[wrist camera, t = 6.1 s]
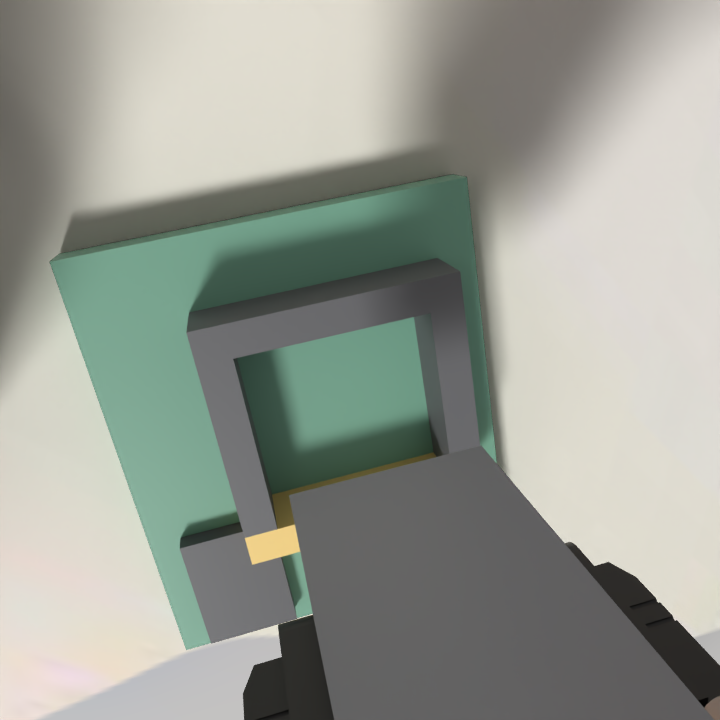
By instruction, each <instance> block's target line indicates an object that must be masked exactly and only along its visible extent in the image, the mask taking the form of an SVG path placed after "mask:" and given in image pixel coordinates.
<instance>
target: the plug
mask: <svg viewBox="0 0 720 720" xmlns="http://www.w3.org/2000/svg"><path fill="white" fill-rule="evenodd" d="M289 498H290V503H291V508H292V513H293V518H294V523H295V528H296V533H297V538H298V543H299V548H300V553H301V558H302V562H303V567H304V572H305V577H306V582H307V587H308V592H309V597H310V602H311V607H312V612H313V617H314V622H315V627H316V632H317V637H318V642H319V647H320V652H321V657H322V662H323V667H324V672H325V677H326V681H327V686H328V691H329V696H330V701H331V706H332V711H333V716H334V720H714V719H713V718H712V716H711V715H710V714H709V713H708V712H707V711H706V709H705V708H704V707H703V706H702V705H701V703H700V702H699V701H698V700H697V699H696V698H695V696H694V695H693V694H692V693H691V692H690V691H689V689H688V688H687V687H686V686H685V685H684V683H683V682H682V681H681V680H680V679H679V678H678V676H677V675H676V674H675V673H674V672H673V671H672V669H671V668H670V667H669V666H668V665H667V663H666V662H665V661H664V660H663V659H662V658H661V656H660V655H659V654H658V653H657V652H656V651H655V649H654V648H653V647H652V646H651V645H650V643H649V642H648V641H647V640H646V639H645V638H644V636H643V635H642V634H641V633H640V632H639V631H638V629H637V628H636V627H635V626H634V625H633V623H632V622H631V621H630V620H629V619H628V618H627V616H626V615H625V614H624V613H623V612H622V610H621V609H620V608H619V607H618V606H617V605H616V603H615V602H614V601H613V600H612V599H611V598H610V596H609V595H608V594H607V593H606V592H605V590H604V589H603V588H602V587H601V586H600V585H599V583H598V582H597V581H596V580H595V579H594V578H593V576H592V575H591V574H590V573H589V572H588V570H587V569H586V568H585V567H584V566H583V565H582V563H581V562H580V561H579V560H578V559H577V558H576V556H575V555H574V554H573V553H572V552H571V550H570V549H569V548H568V547H567V546H566V545H565V543H564V542H563V541H562V540H561V539H560V538H559V536H558V535H557V534H556V533H555V532H554V530H553V529H552V528H551V527H550V526H549V525H548V523H547V522H546V521H545V520H544V519H543V518H542V516H541V515H540V514H539V513H538V512H537V510H536V509H535V508H534V507H533V506H532V505H531V503H530V502H529V501H528V500H527V499H526V498H525V496H524V495H523V494H522V493H521V492H520V490H519V489H518V488H517V487H516V486H515V485H514V483H513V482H512V481H511V480H510V479H509V478H508V476H507V475H506V474H505V473H504V472H503V470H502V469H501V468H500V467H499V466H498V465H497V463H496V462H495V461H494V460H493V459H492V457H491V456H490V455H489V454H488V453H487V452H486V450H485V449H484V448H483V447H482V446H477V447H473V448H470V449H466V450H462V451H458V452H454V453H450V454H446V455H443V456H439V457H435V458H431V459H427V460H423V461H419V462H415V463H412V464H408V465H404V466H400V467H396V468H392V469H388V470H384V471H381V472H377V473H373V474H369V475H365V476H361V477H357V478H353V479H350V480H346V481H342V482H338V483H334V484H330V485H326V486H322V487H319V488H315V489H311V490H307V491H303V492H299V493H295V494H291V495H289Z"/></svg>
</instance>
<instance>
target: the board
mask: <svg viewBox="0 0 720 720" xmlns="http://www.w3.org/2000/svg"><path fill="white" fill-rule="evenodd" d="M50 264H51V267H52V270H53V273H54V276H55V279H56V281H57V284H58V287H59V290H60V293H61V296H62V298H63V301H64V304H65V307H66V310H67V313H68V315H69V318H70V321H71V324H72V327H73V330H74V333H75V335H76V338H77V341H78V344H79V347H80V350H81V352H82V355H83V358H84V361H85V364H86V367H87V369H88V372H89V375H90V378H91V381H92V384H93V386H94V389H95V392H96V395H97V398H98V401H99V403H100V406H101V409H102V412H103V415H104V418H105V421H106V423H107V426H108V429H109V432H110V435H111V438H112V440H113V443H114V446H115V449H116V452H117V455H118V457H119V460H120V463H121V466H122V469H123V472H124V474H125V477H126V480H127V483H128V486H129V489H130V491H131V494H132V497H133V500H134V503H135V506H136V509H137V511H138V514H139V517H140V520H141V523H142V526H143V528H144V531H145V534H146V537H147V540H148V543H149V545H150V548H151V551H152V554H153V557H154V560H155V562H156V565H157V568H158V571H159V574H160V577H161V579H162V582H163V585H164V588H165V591H166V594H167V597H168V599H169V602H170V605H171V608H172V611H173V614H174V616H175V619H176V622H177V625H178V628H179V631H180V633H181V636H182V639H183V642H184V645H185V648H186V650H188V649H192V648H195V647H199V646H202V645H205V644H209V643H215V642H218V641H222V640H225V639H229V638H232V637H236V636H239V635H243V634H246V633H249V632H253V631H256V630H260V629H263V628H267V627H270V626H274V625H277V624H281V623H284V622H288V621H291V620H294V619H297V618H299V617H302V616H306V615H309V614H313V612H312V607H311V602H310V597H309V592H308V587H307V582H306V577H305V572H304V567H303V562H302V558H301V553H300V548H299V543H298V538H297V533H296V528H295V523H294V518H293V513H292V508H291V503H290V498H289V495H291V494H295V493H299V492H303V491H307V490H311V489H315V488H319V487H322V486H326V485H330V484H334V483H338V482H342V481H346V480H350V479H353V478H357V477H361V476H365V475H369V474H373V473H377V472H381V471H384V470H388V469H392V468H396V467H400V466H404V465H408V464H412V463H415V462H419V461H423V460H427V459H431V458H435V457H439V456H443V455H446V454H450V453H454V452H458V451H462V450H466V449H470V448H473V447H477V446H482V447H483V448H484V449H485V450H486V452H487V453H488V454H489V455H490V456H491V457H492V459H493V460H494V461H495V462H496V463H497V461H496V452H495V442H494V433H493V423H492V413H491V404H490V394H489V385H488V375H487V365H486V356H485V346H484V337H483V327H482V318H481V308H480V298H479V289H478V279H477V270H476V260H475V250H474V241H473V231H472V222H471V212H470V203H469V193H468V183H467V177H464V176H459V175H454V174H452V175H447V176H442V177H437V178H432V179H427V180H422V181H417V182H412V183H407V184H402V185H397V186H393V187H388V188H383V189H378V190H373V191H368V192H363V193H358V194H353V195H348V196H343V197H338V198H333V199H328V200H323V201H318V202H313V203H308V204H303V205H298V206H294V207H289V208H284V209H279V210H274V211H269V212H264V213H259V214H254V215H249V216H244V217H239V218H234V219H229V220H224V221H219V222H214V223H209V224H204V225H199V226H195V227H190V228H185V229H180V230H175V231H170V232H165V233H160V234H155V235H150V236H145V237H140V238H135V239H130V240H125V241H120V242H115V243H110V244H105V245H100V246H96V247H91V248H86V249H81V250H76V251H71V252H66V253H61V254H58V255H57V256H56V257H55V258H54V259H52V260H51V261H50Z"/></svg>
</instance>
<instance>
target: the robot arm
mask: <svg viewBox="0 0 720 720" xmlns="http://www.w3.org/2000/svg"><path fill="white" fill-rule="evenodd" d="M565 545H566V546H567V547H568V548H569V549H570V550H571V552H572V553H573V554H574V555H575V556H576V558H577V559H578V560H579V561H580V562H581V563H582V565H583V566H584V567H585V568H586V569H587V570H588V572H589V573H590V574H591V575H592V576H593V578H594V579H595V580H596V581H597V582H598V583H599V585H600V586H601V587H602V588H603V589H604V590H605V592H606V593H607V594H608V595H609V596H610V598H611V599H612V600H613V601H614V602H615V603H616V605H617V606H618V607H619V608H620V609H621V610H622V612H623V613H624V614H625V615H626V616H627V618H628V619H629V620H630V621H631V622H632V623H633V625H634V626H635V627H636V628H637V629H638V631H639V632H640V633H641V634H642V635H643V636H644V638H645V639H646V640H647V641H648V642H649V643H650V645H651V646H652V647H653V648H654V649H655V651H656V652H657V653H658V654H659V655H660V656H661V658H662V659H663V660H664V661H665V662H666V663H667V665H668V666H669V667H670V668H671V669H672V671H673V672H674V673H675V674H676V675H677V676H678V678H679V679H680V680H681V681H682V682H683V683H684V685H685V686H686V687H687V688H688V689H689V691H690V692H691V693H692V694H693V695H694V696H695V698H696V699H697V700H698V701H699V702H700V703H701V705H702V706H703V707H704V708H705V709H706V711H707V712H708V713H709V714H710V715H711V716H712V718H713V719H714V720H720V665H719V664H718V663H717V662H716V661H715V660H714V659H713V658H712V657H711V656H710V655H709V654H708V653H707V652H706V651H705V649H704V648H702V647H701V645H700V644H699V643H698V642H697V641H696V640H695V639H694V638H693V637H692V636H691V635H690V634H689V633H688V632H687V630H686V629H685V628H684V627H683V626H682V625H681V624H680V623H679V622H678V621H677V620H676V621H675V620H674V619H673V616H672V615H671V614H670V612H669V611H668V610H667V609H666V608H665V607H664V606H663V605H662V604H661V603H658V602H657V600H656V598H655V597H654V596H653V595H652V593H651V592H650V591H649V590H648V589H647V588H646V587H645V586H644V585H643V584H642V583H641V582H640V581H639V580H638V579H637V578H636V577H635V576H633V575H631V574H629V573H628V572H626V571H624V570H622V569H620V568H618V567H617V566H615V565H613V564H611V563H609V562H607V563H604V564H600V565H597V566H594V565H593V564H592V563H591V562H590V561H589V560H588V558H587V557H586V556H585V555H584V554H583V553H582V552H581V550H580V549H579V548H578V547H577V546H576V545H575V544H573V543H571V542H568V543H565ZM278 630H279V638H280V646H281V654H282V657H281V658H277V659H274V660H271V661H268V662H264V663H260V664H257V665H254V667H253V670H252V672H251V675H250V677H249V680H248V683H247V685H246V687H245V690H244V693H243V702H244V720H334V716H333V711H332V706H331V701H330V696H329V691H328V686H327V681H326V677H325V672H324V667H323V662H322V657H321V652H320V647H319V642H318V637H317V632H316V627H315V622H314V617H313V615H311V616H307V617H304V618H300V619H297V620H293V621H290V622H286V623H283V624H279V625H278Z"/></svg>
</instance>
